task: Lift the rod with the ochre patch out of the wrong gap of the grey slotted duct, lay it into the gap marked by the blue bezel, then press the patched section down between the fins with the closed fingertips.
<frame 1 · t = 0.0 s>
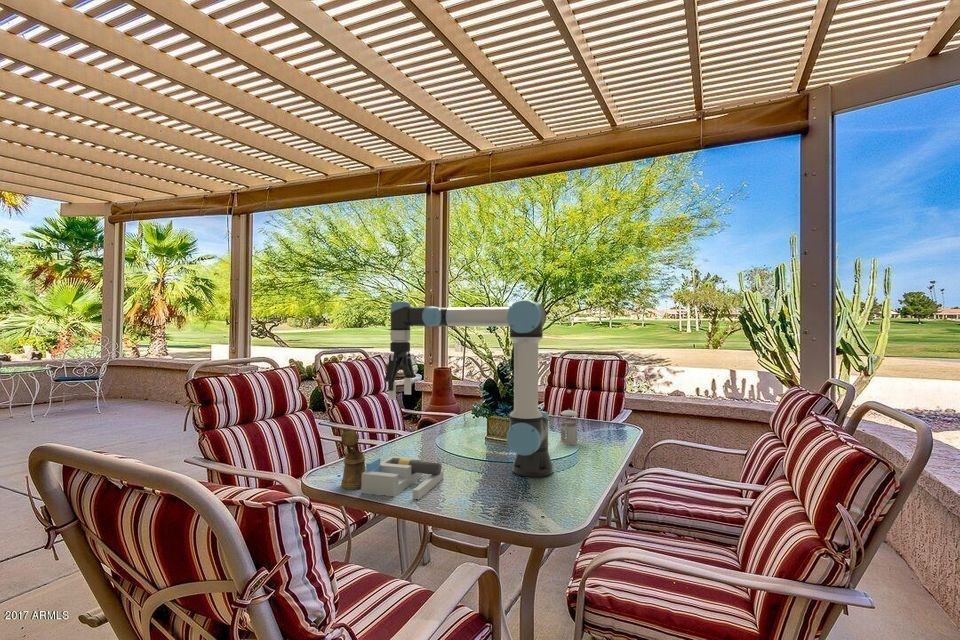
hand: (400, 396, 182), 28 cm above the table, tool pointing down, fingers open, 13 cm apart
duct: (403, 485, 164), on the table
rod: (415, 472, 169), point 3 cm above the table, touching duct
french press: (568, 442, 226), on the table
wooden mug: (353, 483, 167), on the table
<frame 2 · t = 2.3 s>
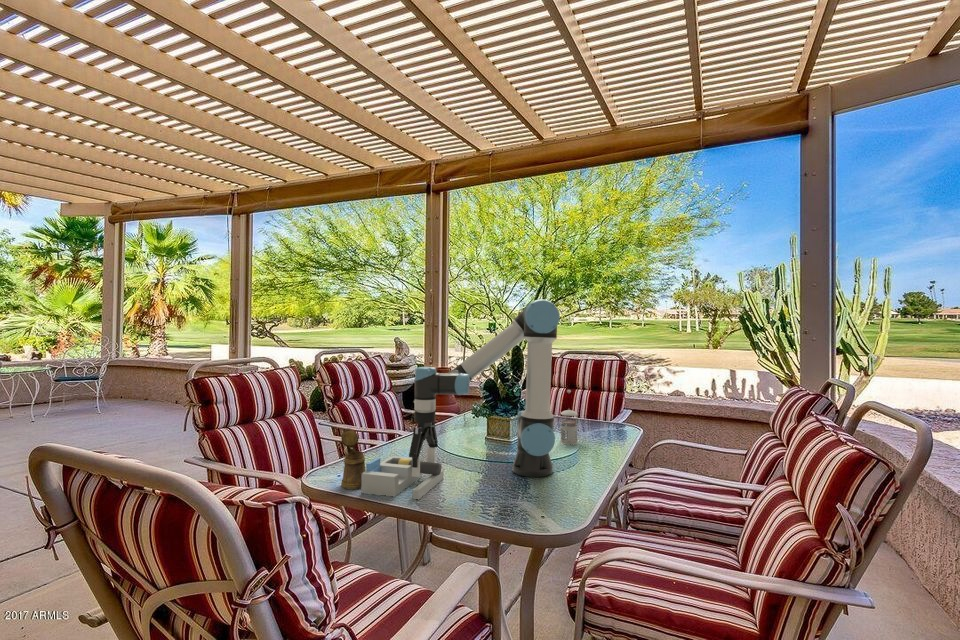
hand: (423, 470, 168), 4 cm above the table, tool pointing down, fingers open, 13 cm apart
nothing on the table moved.
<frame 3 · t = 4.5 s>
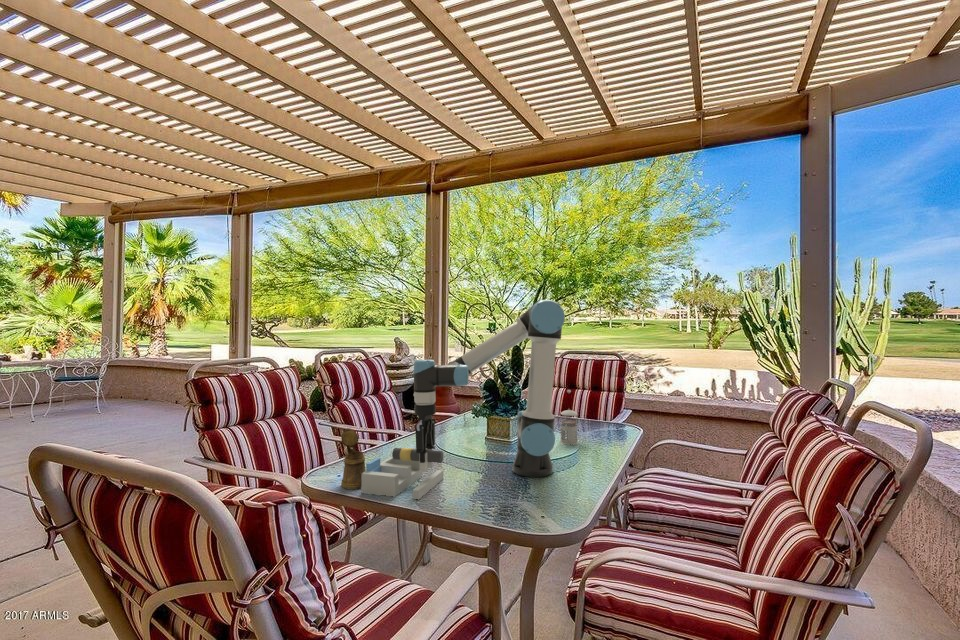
hand: (426, 469, 168), 5 cm above the table, tool pointing down, fingers closed on rod, 4 cm apart
rod: (417, 461, 169), point 7 cm above the table, touching gripper
everything else where it was.
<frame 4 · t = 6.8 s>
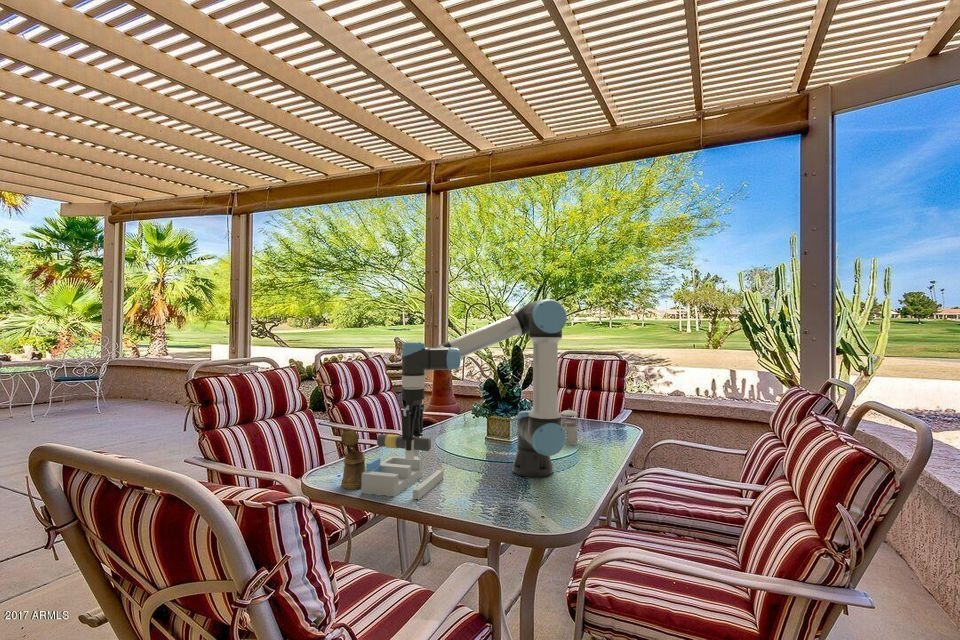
hand: (412, 457, 159), 11 cm above the table, tool pointing down, fingers closed on rod, 4 cm apart
rod: (403, 448, 160), point 14 cm above the table, touching gripper
everything else where it was.
when the fingers open (1 cm above the table, at t = 9.1 s): rod stays where it is, resting on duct.
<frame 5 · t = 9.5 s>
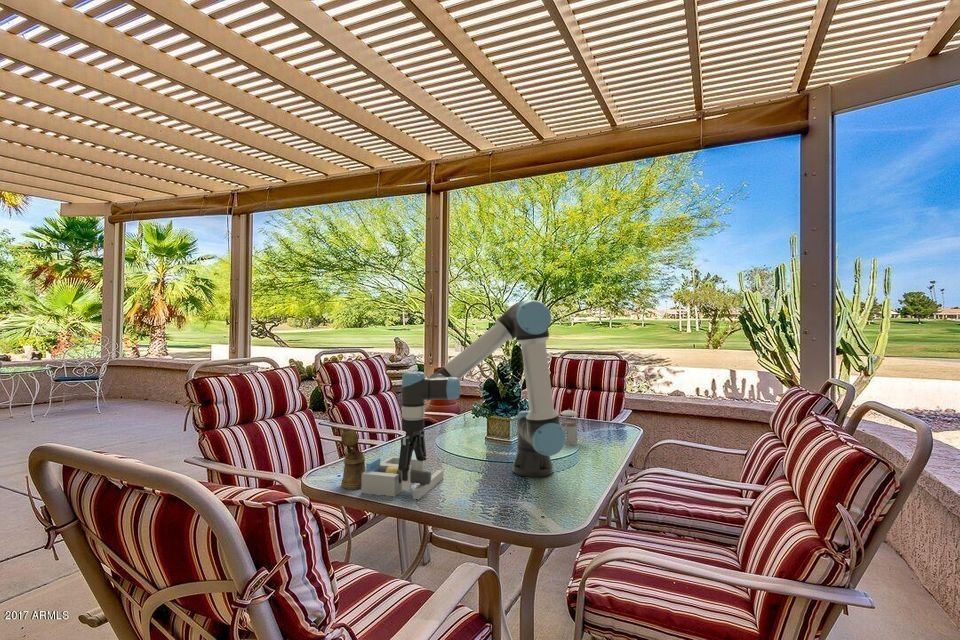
hand: (412, 484, 158), 2 cm above the table, tool pointing down, fingers open, 10 cm apart
rod: (404, 481, 159), point 3 cm above the table, touching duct
everything else where it was.
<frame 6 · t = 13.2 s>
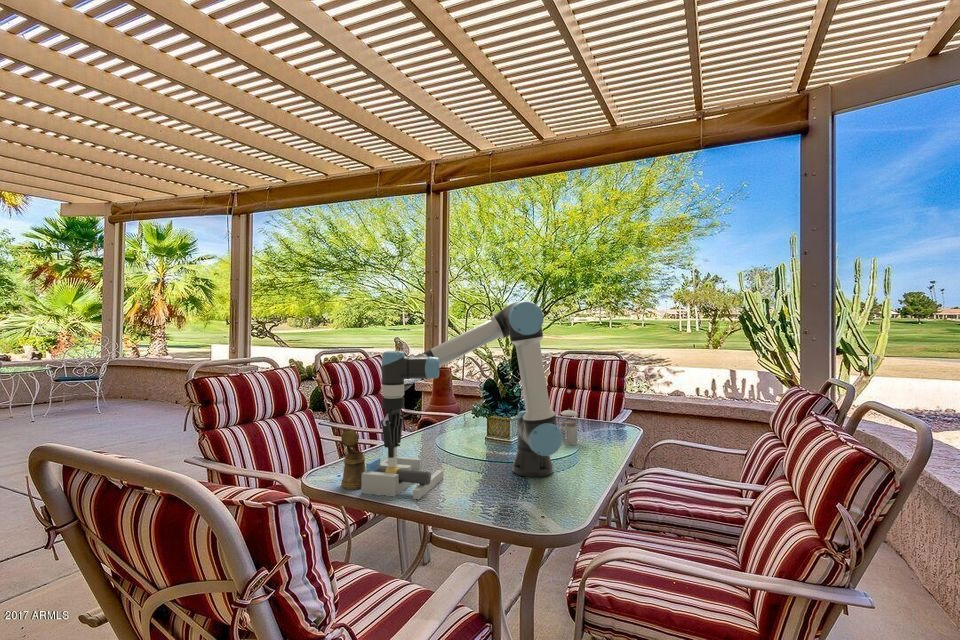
hand: (392, 466, 161), 8 cm above the table, tool pointing down, fingers closed
rod: (404, 481, 159), point 3 cm above the table, tilted 10°, touching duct, gripper
everything else where it was.
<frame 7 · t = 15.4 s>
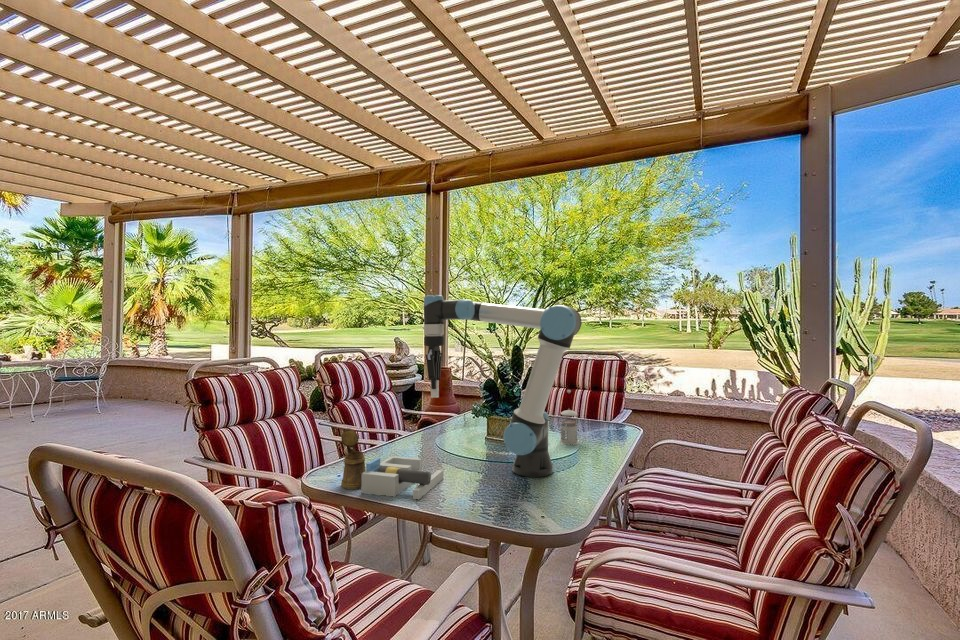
hand: (434, 397, 181), 28 cm above the table, tool pointing down, fingers closed
rod: (404, 481, 159), point 3 cm above the table, tilted 11°, touching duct
everything else where it was.
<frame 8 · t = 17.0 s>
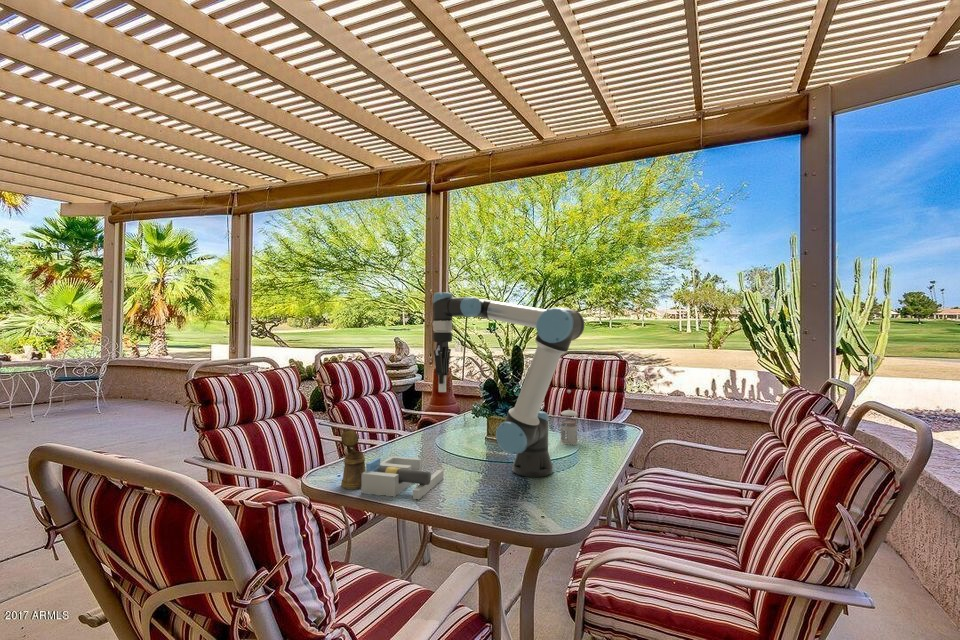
hand: (442, 391, 186), 29 cm above the table, tool pointing down, fingers closed
nothing on the table moved.
at the end: rod inside the target area on the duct (0.8 cm from its centre), point 3.0 cm above the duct's base; the gripper is holding nothing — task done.
